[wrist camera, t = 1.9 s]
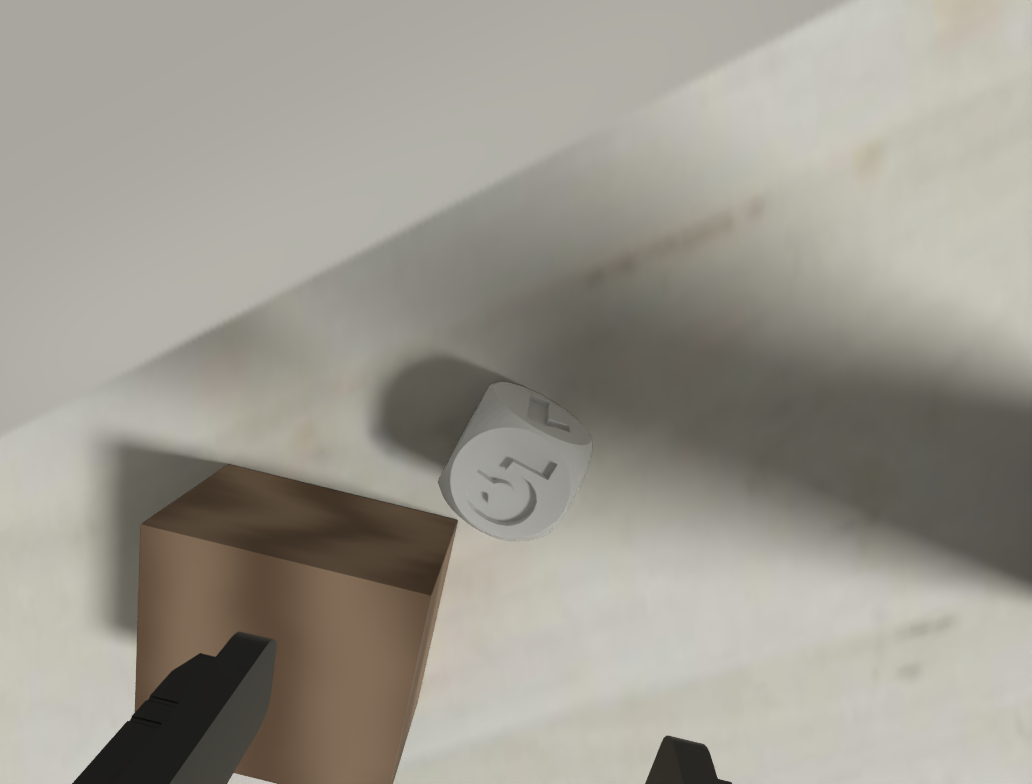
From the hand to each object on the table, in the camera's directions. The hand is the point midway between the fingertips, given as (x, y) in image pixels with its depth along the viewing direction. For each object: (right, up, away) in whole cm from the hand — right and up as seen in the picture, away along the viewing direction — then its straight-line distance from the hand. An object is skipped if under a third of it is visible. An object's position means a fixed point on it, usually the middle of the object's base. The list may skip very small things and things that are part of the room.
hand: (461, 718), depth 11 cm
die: (+1, +4, +15) cm, 16 cm away
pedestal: (-9, -4, +18) cm, 21 cm away
